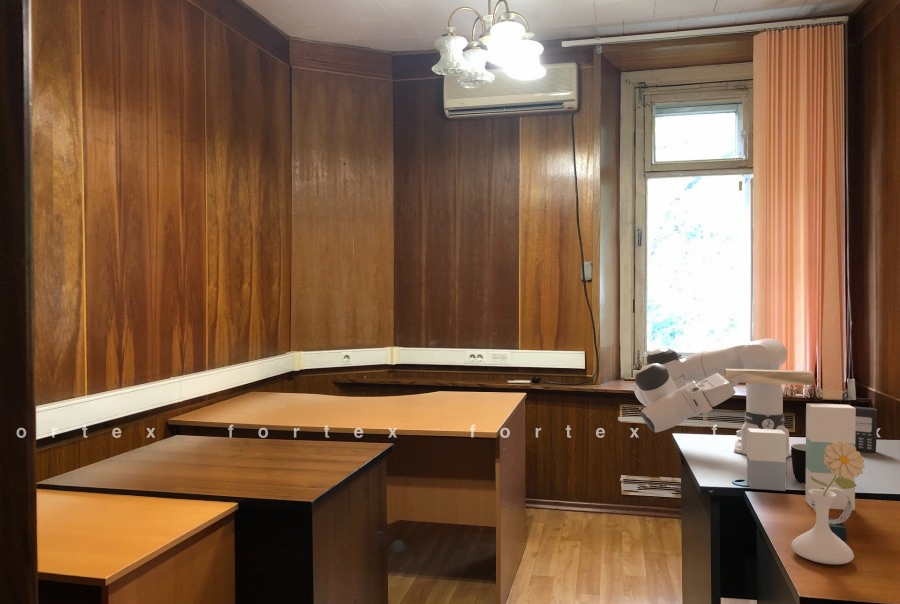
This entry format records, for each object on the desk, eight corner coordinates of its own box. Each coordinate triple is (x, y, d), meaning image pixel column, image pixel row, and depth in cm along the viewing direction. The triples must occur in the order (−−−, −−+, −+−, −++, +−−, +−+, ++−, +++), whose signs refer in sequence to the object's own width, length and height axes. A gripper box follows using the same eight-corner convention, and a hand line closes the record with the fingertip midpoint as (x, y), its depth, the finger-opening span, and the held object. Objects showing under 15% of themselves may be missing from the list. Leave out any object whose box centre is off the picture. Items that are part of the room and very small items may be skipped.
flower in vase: (795, 565, 131) (796, 443, 131) (787, 544, 142) (788, 431, 142) (869, 575, 127) (871, 448, 126) (856, 552, 137) (857, 436, 137)
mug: (833, 486, 183) (833, 451, 183) (802, 487, 183) (802, 451, 182) (807, 474, 195) (807, 441, 195) (778, 474, 194) (778, 441, 194)
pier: (746, 483, 186) (747, 428, 186) (781, 485, 184) (781, 429, 184) (750, 488, 181) (750, 431, 181) (785, 490, 179) (785, 433, 179)
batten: (724, 380, 184) (724, 368, 184) (809, 383, 179) (809, 370, 179) (726, 382, 181) (726, 370, 181) (813, 385, 176) (813, 372, 176)
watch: (808, 529, 151) (809, 482, 150) (848, 533, 148) (848, 486, 148) (814, 538, 145) (815, 490, 145) (855, 542, 143) (855, 493, 143)
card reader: (844, 450, 223) (845, 407, 223) (845, 447, 227) (845, 405, 226) (876, 453, 218) (876, 409, 218) (876, 451, 221) (876, 408, 221)
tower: (805, 500, 171) (806, 403, 170) (847, 503, 168) (848, 404, 168) (811, 507, 166) (811, 406, 165) (854, 510, 163) (855, 408, 163)
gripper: (697, 400, 194) (740, 379, 191) (708, 413, 174) (756, 390, 172) (686, 382, 195) (729, 360, 192) (695, 393, 175) (743, 369, 172)
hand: (742, 374), depth 182 cm, fingers closed on batten, 3 cm apart
